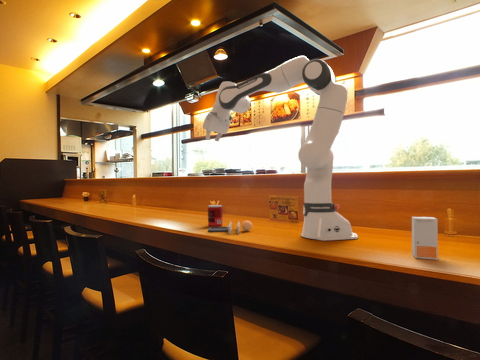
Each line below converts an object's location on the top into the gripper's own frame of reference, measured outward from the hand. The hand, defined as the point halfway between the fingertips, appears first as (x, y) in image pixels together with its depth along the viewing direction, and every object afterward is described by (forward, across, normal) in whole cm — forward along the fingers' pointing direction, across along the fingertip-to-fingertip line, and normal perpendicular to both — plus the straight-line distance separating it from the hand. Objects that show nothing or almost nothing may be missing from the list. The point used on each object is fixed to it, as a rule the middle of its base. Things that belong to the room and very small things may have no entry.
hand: (212, 140), depth 150 cm
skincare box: (+8, -30, -98) cm, 103 cm away
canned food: (+43, +5, -14) cm, 46 cm away
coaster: (+40, -7, -22) cm, 46 cm away
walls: (+36, -7, -30) cm, 48 cm away
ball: (+34, -4, -35) cm, 49 cm away
